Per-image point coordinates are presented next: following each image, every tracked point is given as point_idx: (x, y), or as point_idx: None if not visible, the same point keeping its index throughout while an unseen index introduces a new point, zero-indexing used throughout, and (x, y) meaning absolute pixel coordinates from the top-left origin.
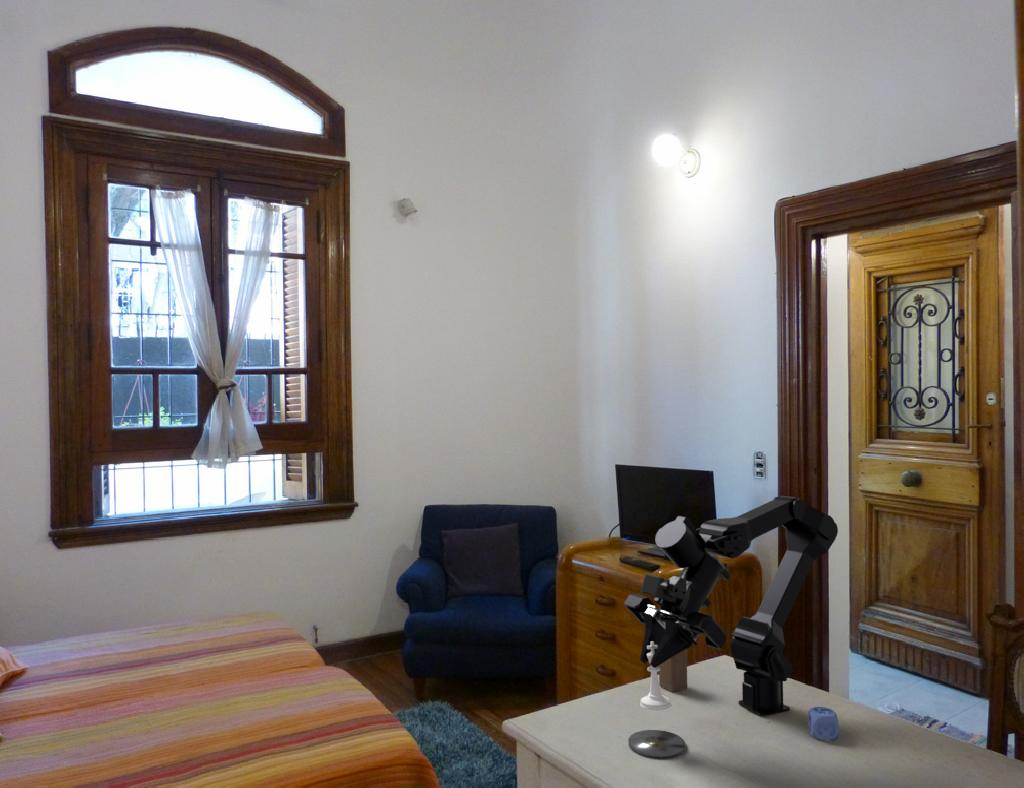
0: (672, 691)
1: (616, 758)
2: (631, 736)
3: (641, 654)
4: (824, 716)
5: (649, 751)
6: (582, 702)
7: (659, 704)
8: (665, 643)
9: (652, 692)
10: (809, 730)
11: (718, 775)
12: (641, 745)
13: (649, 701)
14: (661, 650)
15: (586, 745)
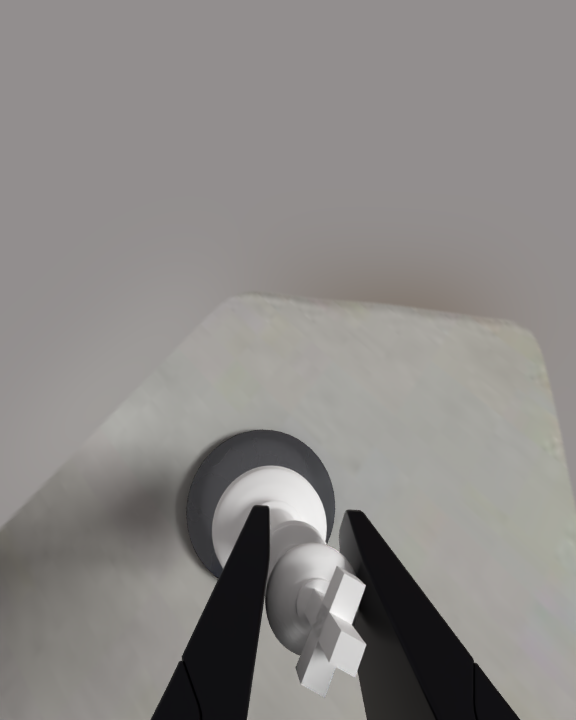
0: None
1: (275, 377)
2: (324, 474)
3: (376, 536)
4: None
5: (237, 446)
6: (570, 539)
7: (226, 499)
8: (161, 711)
9: (272, 513)
10: None
11: (51, 504)
12: (272, 455)
13: (264, 483)
14: (202, 616)
15: (361, 371)
